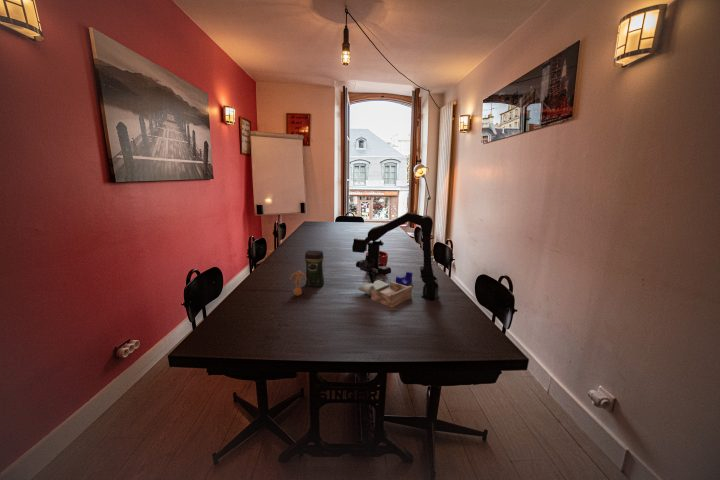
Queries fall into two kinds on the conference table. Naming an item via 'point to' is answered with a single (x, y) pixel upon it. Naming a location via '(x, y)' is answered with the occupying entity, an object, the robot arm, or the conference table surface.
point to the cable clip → (404, 279)
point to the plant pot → (382, 258)
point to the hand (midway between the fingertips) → (372, 283)
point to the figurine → (298, 290)
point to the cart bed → (392, 294)
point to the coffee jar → (314, 268)
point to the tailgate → (374, 287)
